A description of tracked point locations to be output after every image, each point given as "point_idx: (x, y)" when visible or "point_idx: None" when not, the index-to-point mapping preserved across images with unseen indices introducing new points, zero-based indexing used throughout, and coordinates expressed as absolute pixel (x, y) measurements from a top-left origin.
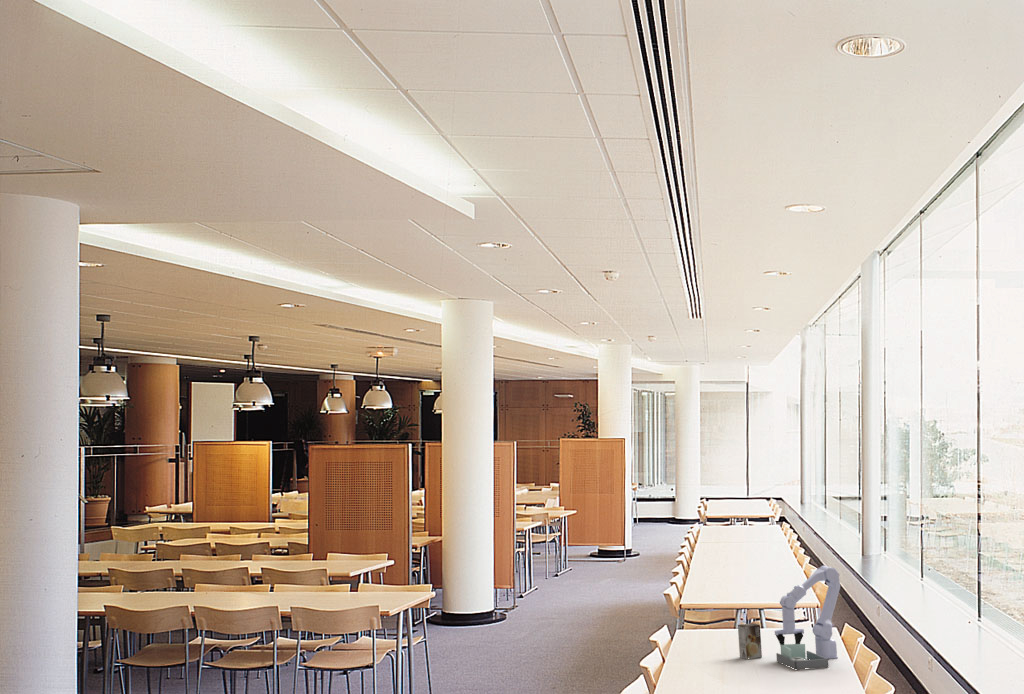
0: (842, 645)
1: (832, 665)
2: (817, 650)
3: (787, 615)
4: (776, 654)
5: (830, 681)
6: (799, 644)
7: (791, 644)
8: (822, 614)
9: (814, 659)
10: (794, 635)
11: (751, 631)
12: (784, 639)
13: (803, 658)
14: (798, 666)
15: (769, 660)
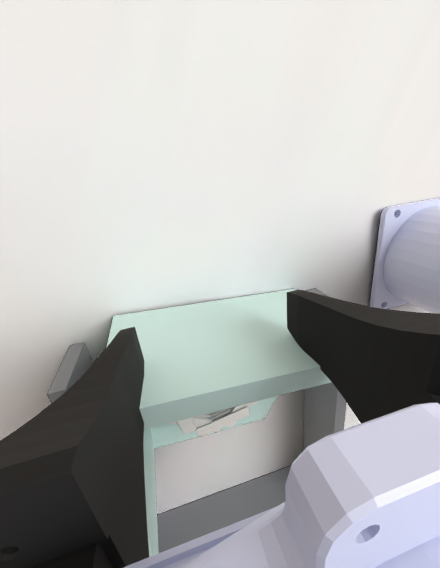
0: None
1: (347, 425)
2: (423, 289)
3: None
4: (51, 386)
5: None
6: (321, 383)
7: (237, 401)
8: None
9: (314, 387)
10: (410, 336)
11: None
12: (144, 520)
13: (255, 402)
14: (163, 540)
15: (5, 293)
